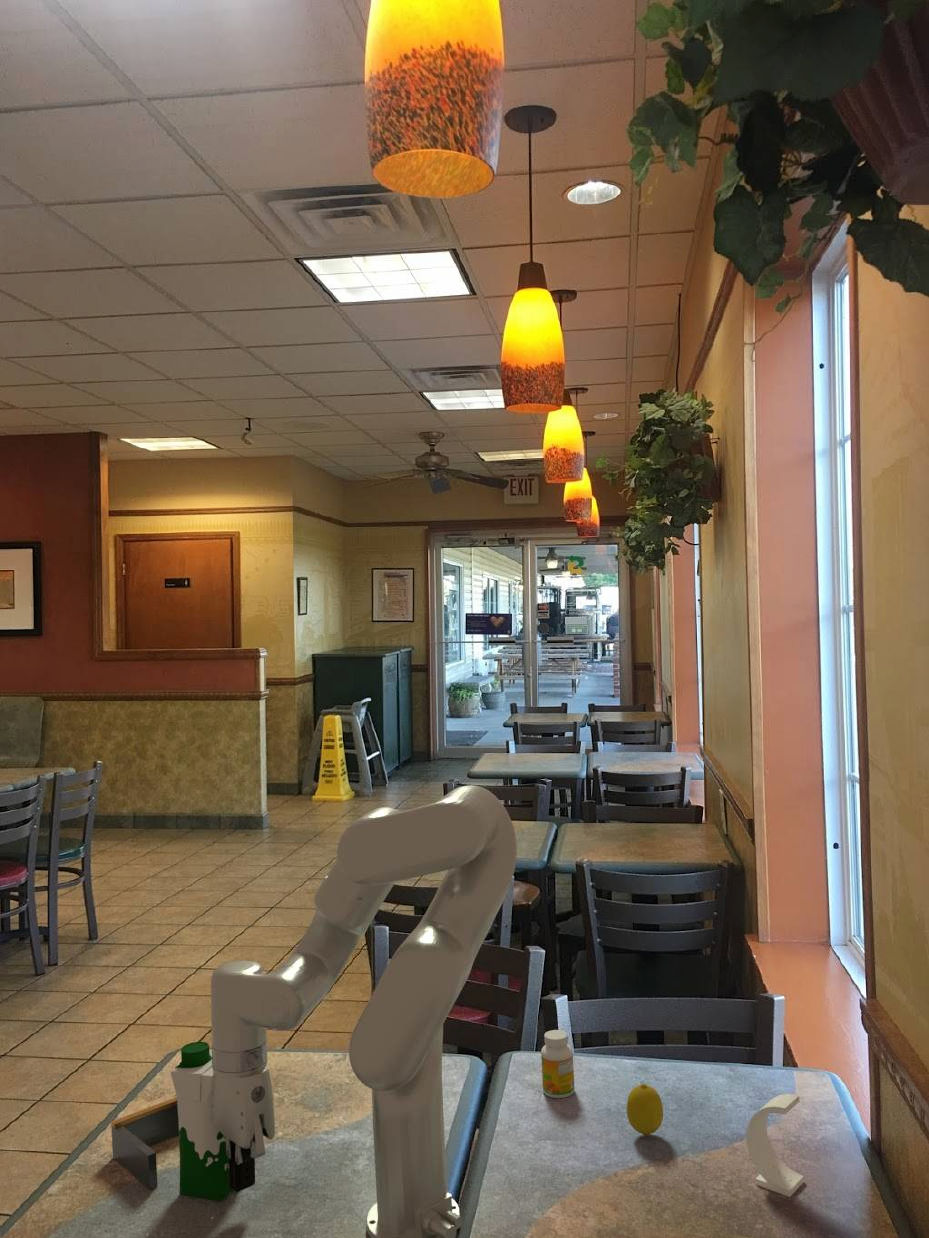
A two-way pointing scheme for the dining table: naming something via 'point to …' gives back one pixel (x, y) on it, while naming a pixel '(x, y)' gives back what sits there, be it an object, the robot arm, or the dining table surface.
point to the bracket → (144, 1139)
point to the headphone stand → (771, 1149)
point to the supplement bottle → (557, 1065)
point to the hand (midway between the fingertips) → (242, 1186)
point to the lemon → (644, 1109)
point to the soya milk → (199, 1127)
